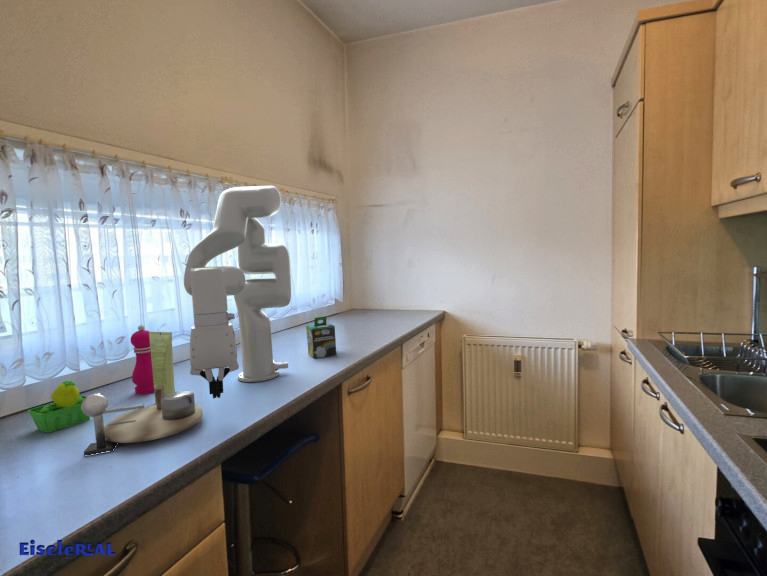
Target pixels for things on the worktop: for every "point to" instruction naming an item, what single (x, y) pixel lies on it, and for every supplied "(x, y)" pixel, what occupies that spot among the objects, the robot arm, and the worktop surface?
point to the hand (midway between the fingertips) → (216, 396)
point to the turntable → (148, 423)
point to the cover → (178, 405)
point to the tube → (162, 360)
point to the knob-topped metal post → (100, 421)
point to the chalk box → (321, 339)
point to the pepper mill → (142, 362)
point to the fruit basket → (60, 409)
